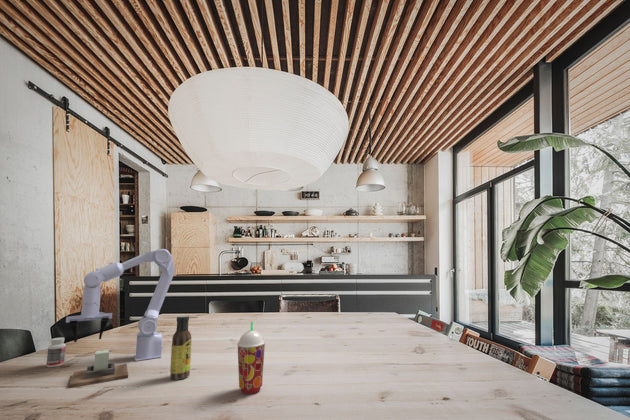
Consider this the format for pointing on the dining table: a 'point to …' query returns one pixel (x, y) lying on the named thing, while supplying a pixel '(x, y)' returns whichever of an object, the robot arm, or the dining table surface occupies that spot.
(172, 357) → the sauce bottle
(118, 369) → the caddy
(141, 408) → the dining table surface
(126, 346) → the dining table surface
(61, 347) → the pill bottle
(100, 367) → the peg
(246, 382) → the smoothie
